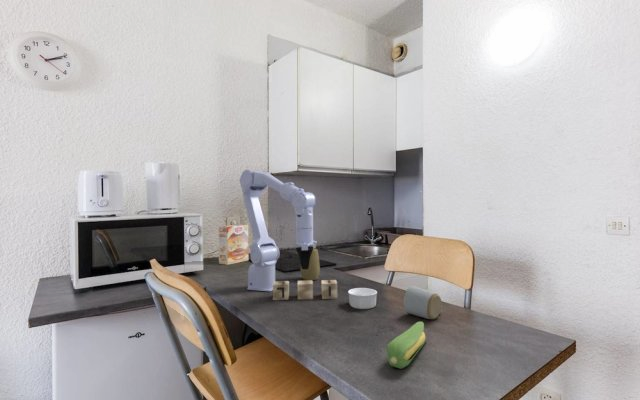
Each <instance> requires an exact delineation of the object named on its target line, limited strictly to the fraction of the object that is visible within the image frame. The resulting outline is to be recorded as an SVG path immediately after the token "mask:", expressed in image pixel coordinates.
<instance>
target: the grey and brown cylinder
mask: <svg viewBox="0 0 640 400" xmlns="http://www.w3.org/2000/svg"><path fill="white" fill-rule="evenodd" d="M441 298H442V297H441V296H440V295H439V294H438V293H436V292H433V291H432V290H431V291H430V290H427V289H424V288H422V287H418V286H415V285H412V286H409V287H408V288H407V289H406V291H405V293H404V297H403V301H402V302H403V309H404V311H405V312H406V313H407V314H410V315H413V316H415V317H421V318H422V319H423V318H424V319H427V320H435V319H437V318H438V317H439V315H440V313H442V310H443V309H442V308H443V303H442V299H441Z"/></svg>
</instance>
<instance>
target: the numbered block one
mask: <svg viewBox="0 0 640 400" xmlns="http://www.w3.org/2000/svg"><path fill="white" fill-rule="evenodd" d="M320 283H321V299H322V300H326V299H327V300H332V299H333V300H334V299H338V281H337V279H322V280H321V282H320Z"/></svg>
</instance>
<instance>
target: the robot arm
mask: <svg viewBox="0 0 640 400" xmlns="http://www.w3.org/2000/svg"><path fill="white" fill-rule="evenodd" d="M239 183H240V187H241V191H242V198H243V202H244V206H245V210H246V214H247V218H248V221H249V225H250V229H251V233H252V238H253V242H252V243H251V244H250V245H249V250H250V254H249V255H250V260H251V262H252V263H251V264H250V266H249V267H248V271H247V288H246V289H247V290H249V291H261V292H273V283H274V281H276V264H277V261H278V259H279V258H280V249H279V247H278V246H277V244H276V242H275V240H274V238H272V237H270V236H269V233H268V229H267V225H266V221H265V217H264V214H263V210H262V207H261V203H260V200H259V196H260V195H262V193H264V191H265V190H266V188H267V187H269V188H271V189H273V190H275V191H277V192H278V193H279V197H281V198H282V199H284V200H285V201H288V203H290V204H291V205H292V207H293V209H294V213H295V245H297V246H299V247H296V248H295V249H296V252H297V254H298V257H299V262H300V269H301V268H302V269H308V268H309V262H310V257H311V254H312V251H313V247H312V246H309V245H312V244H316V245H317V244H318V243H317V242H318V241H317V240H314V208H315V207H316V206H317V205H316V204H317V197H316V195H315V194H314V193H313V192H312V191H306V192H305V189H304V188H302V187H301V188H299V187H298V186H296V185H295V183H294V182H291V181H289V182H285V183H284V182H282V181H281V180H280V179H278V178H276V177H275V176H273V175H272V174H271V173H270V172H268V171H265V170H253V169H252V170H250V169H244V170H243V171H242V173H241V175H240V177H239Z"/></svg>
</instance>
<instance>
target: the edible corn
mask: <svg viewBox="0 0 640 400" xmlns="http://www.w3.org/2000/svg"><path fill="white" fill-rule="evenodd" d="M424 330H425V323H424V322H423V321H417V322H415V323H414V324H413V325H411V326H410V327H409V329H406V330H405V331H404V332H403V333H401V334H400V335H397V336H396V337H395V338H394V339H393V340H391V341H389V343H387V345H386V356H387V360H388V363H389V365H390V366H391V367H393V368H397V369H404V368H406V367H407V366H409V365H410V363H412V361H413V360H414V358H416V355H417V354H418V352H420V350H421V348H423V346H424V345H425V344H426V333H425V332H424Z"/></svg>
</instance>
